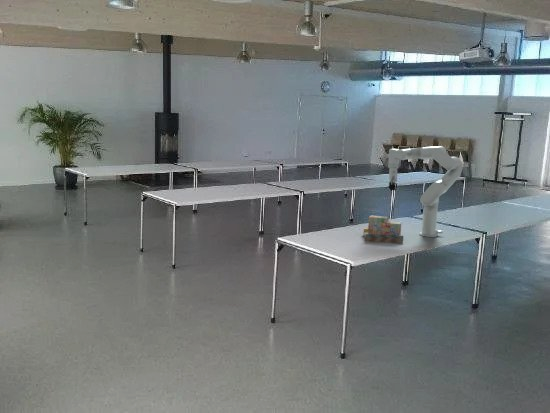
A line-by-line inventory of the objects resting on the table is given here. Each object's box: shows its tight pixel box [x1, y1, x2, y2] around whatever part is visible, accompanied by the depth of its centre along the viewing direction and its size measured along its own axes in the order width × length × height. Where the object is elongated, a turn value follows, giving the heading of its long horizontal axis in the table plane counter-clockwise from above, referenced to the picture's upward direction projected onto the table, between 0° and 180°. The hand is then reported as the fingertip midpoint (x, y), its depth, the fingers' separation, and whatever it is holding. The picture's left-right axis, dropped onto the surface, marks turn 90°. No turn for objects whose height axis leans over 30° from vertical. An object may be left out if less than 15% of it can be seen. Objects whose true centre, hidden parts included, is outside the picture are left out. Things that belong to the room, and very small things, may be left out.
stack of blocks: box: [367, 215, 402, 236], centre depth 369 cm, size 21×6×12 cm, turn 65°
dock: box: [363, 227, 404, 244], centre depth 370 cm, size 25×19×5 cm
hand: (391, 189), depth 396 cm, fingers open, 9 cm apart
